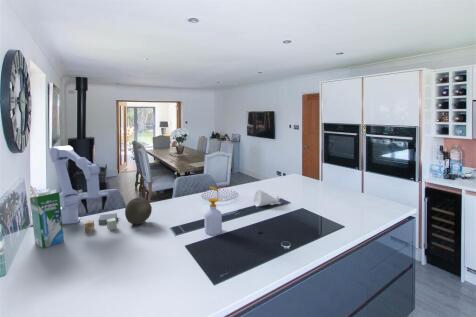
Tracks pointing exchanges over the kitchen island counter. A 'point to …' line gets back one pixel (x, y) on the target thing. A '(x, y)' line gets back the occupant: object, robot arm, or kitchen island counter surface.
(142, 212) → the cantaloupe
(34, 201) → the milk carton
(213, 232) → the soap bottle
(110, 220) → the sage block
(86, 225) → the oak block
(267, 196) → the rocket engine
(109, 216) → the slate base
